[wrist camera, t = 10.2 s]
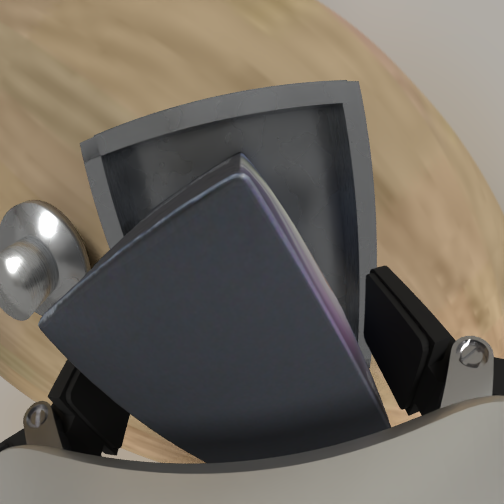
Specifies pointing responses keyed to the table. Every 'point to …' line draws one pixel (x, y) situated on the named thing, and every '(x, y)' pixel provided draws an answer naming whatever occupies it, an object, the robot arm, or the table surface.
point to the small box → (220, 327)
